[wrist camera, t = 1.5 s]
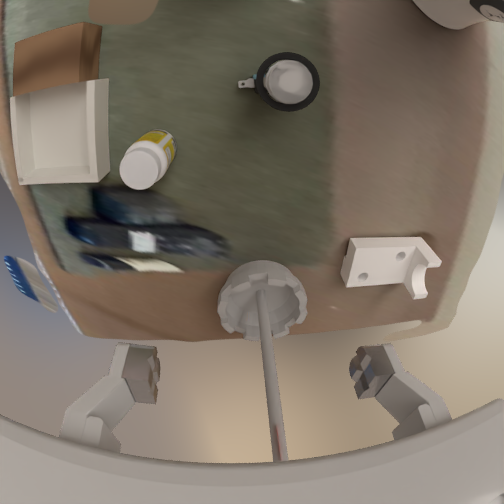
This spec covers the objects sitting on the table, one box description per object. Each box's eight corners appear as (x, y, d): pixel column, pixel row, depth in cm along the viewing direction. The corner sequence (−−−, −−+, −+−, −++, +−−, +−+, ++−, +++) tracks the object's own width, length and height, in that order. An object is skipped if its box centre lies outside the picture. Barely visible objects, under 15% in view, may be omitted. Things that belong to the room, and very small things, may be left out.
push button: (241, 105, 30) (244, 117, 22) (235, 61, 27) (236, 55, 19) (299, 99, 30) (325, 111, 22) (295, 56, 27) (319, 50, 18)
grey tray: (27, 92, 25) (9, 97, 21) (109, 78, 26) (94, 79, 23) (34, 173, 31) (19, 184, 28) (110, 170, 33) (98, 182, 30)
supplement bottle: (132, 148, 32) (106, 171, 25) (158, 120, 30) (136, 136, 23) (158, 173, 34) (140, 202, 27) (185, 148, 32) (172, 171, 25)
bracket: (418, 233, 42) (441, 261, 36) (406, 268, 46) (425, 297, 40) (347, 234, 41) (366, 266, 35) (339, 272, 45) (354, 306, 39)
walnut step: (37, 42, 21) (15, 42, 17) (102, 26, 22) (83, 21, 18) (35, 90, 25) (13, 96, 21) (98, 79, 26) (78, 82, 22)
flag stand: (301, 310, 49) (340, 483, 25) (226, 320, 49) (230, 497, 25) (300, 248, 42) (363, 462, 17) (210, 260, 42) (200, 483, 17)
